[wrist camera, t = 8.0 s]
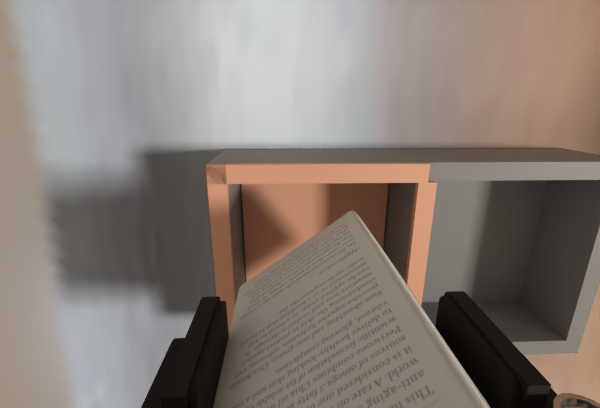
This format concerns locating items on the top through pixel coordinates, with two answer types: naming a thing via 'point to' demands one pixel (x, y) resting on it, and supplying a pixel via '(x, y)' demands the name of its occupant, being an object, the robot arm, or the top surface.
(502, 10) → the top surface
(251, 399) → the skincare box
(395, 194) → the box
